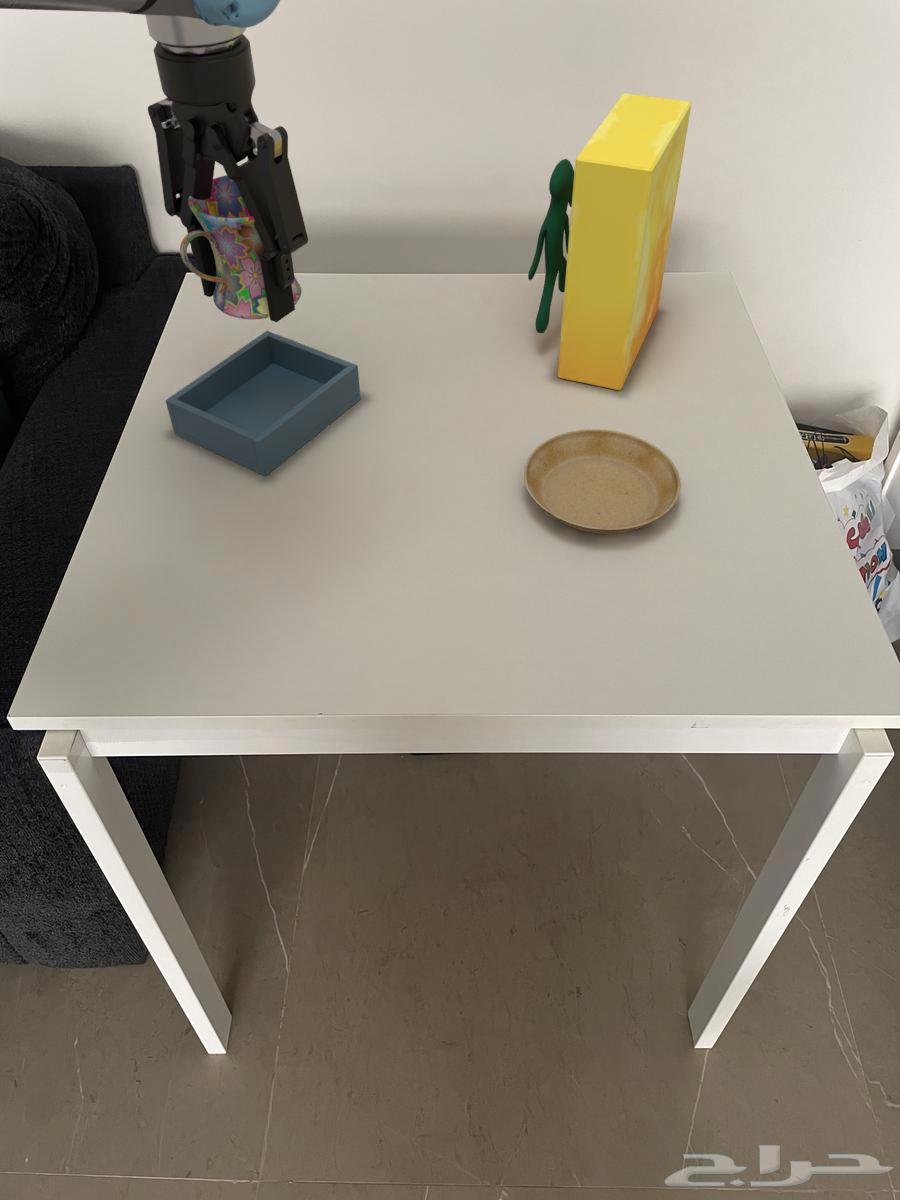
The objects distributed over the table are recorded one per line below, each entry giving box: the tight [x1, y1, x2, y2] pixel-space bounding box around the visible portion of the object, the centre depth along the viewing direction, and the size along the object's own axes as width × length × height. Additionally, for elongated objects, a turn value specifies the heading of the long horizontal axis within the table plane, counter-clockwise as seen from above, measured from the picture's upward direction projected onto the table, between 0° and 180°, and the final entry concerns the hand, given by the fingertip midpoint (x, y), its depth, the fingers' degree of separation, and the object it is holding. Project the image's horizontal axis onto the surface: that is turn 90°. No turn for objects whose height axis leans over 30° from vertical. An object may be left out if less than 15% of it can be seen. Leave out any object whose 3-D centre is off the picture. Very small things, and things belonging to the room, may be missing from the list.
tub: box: [165, 330, 361, 477], centre depth 99 cm, size 13×16×4 cm
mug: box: [179, 174, 302, 320], centre depth 88 cm, size 12×9×11 cm
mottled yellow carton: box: [527, 92, 692, 391], centre depth 101 cm, size 18×12×24 cm
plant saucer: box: [523, 428, 682, 535], centre depth 90 cm, size 15×15×3 cm
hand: (249, 302), depth 91 cm, fingers closed on mug, 8 cm apart
